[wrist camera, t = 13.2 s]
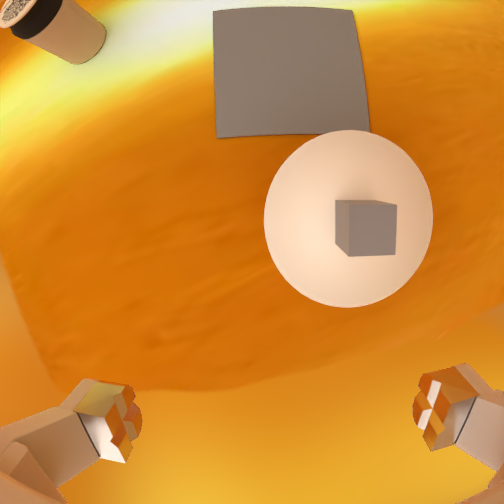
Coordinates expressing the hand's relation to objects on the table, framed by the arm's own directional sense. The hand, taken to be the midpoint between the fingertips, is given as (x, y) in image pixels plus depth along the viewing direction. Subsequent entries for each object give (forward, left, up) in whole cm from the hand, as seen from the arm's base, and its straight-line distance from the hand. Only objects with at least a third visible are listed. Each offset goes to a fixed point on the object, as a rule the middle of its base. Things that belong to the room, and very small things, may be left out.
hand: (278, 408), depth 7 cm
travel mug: (+27, -32, -33) cm, 53 cm away
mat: (-4, -22, -33) cm, 40 cm away
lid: (-8, -2, -22) cm, 24 cm away
